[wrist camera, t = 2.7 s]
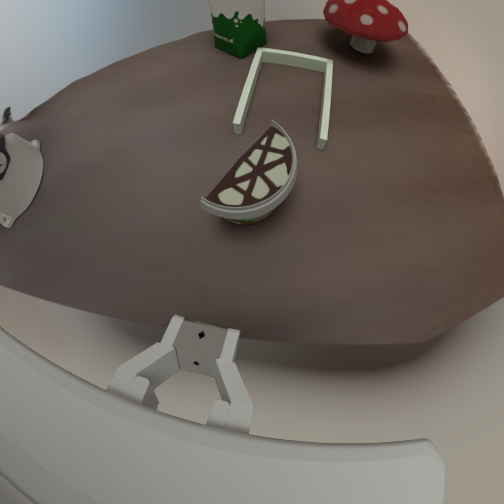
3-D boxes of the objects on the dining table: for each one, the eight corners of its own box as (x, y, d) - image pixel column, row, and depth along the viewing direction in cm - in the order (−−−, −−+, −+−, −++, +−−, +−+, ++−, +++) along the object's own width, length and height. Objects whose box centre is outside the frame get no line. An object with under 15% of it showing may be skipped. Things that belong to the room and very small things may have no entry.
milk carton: (208, 48, 40) (191, -34, 21) (240, 28, 41) (234, -48, 21) (241, 63, 39) (233, -29, 20) (274, 43, 40) (277, -41, 20)
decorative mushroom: (378, 86, 38) (407, 29, 23) (303, 47, 40) (312, -13, 25) (398, 53, 40) (421, 7, 25) (335, 20, 41) (346, -28, 27)
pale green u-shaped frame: (234, 133, 37) (232, 123, 34) (258, 58, 39) (257, 47, 37) (322, 149, 36) (327, 140, 34) (329, 70, 39) (332, 60, 36)
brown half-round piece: (251, 254, 35) (247, 240, 25) (213, 225, 35) (196, 201, 25) (307, 183, 36) (323, 147, 26) (271, 158, 36) (274, 116, 26)
